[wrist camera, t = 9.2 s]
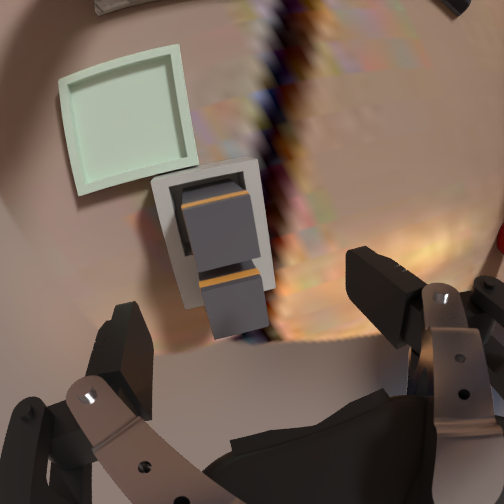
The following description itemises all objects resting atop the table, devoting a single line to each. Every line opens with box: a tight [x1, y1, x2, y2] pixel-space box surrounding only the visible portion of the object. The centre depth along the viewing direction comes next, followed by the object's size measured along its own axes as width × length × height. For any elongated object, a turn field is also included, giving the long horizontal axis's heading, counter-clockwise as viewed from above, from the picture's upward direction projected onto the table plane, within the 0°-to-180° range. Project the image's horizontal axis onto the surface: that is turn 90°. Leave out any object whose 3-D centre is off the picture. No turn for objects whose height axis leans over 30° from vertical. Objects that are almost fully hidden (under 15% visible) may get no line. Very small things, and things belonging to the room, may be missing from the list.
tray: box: [58, 44, 199, 196], centre depth 21 cm, size 11×11×2 cm
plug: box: [181, 178, 261, 273], centre depth 21 cm, size 4×4×8 cm
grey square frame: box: [151, 156, 276, 340], centre depth 22 cm, size 11×8×9 cm
